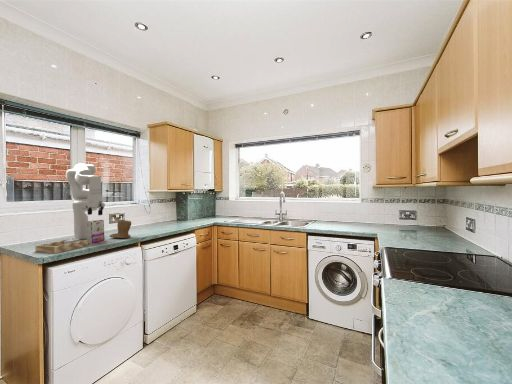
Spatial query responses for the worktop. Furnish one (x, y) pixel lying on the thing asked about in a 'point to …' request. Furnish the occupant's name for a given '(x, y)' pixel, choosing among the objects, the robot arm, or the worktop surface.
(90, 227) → the candy bar box
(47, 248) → the wooden compartment tray
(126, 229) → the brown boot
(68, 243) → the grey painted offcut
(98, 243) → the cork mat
